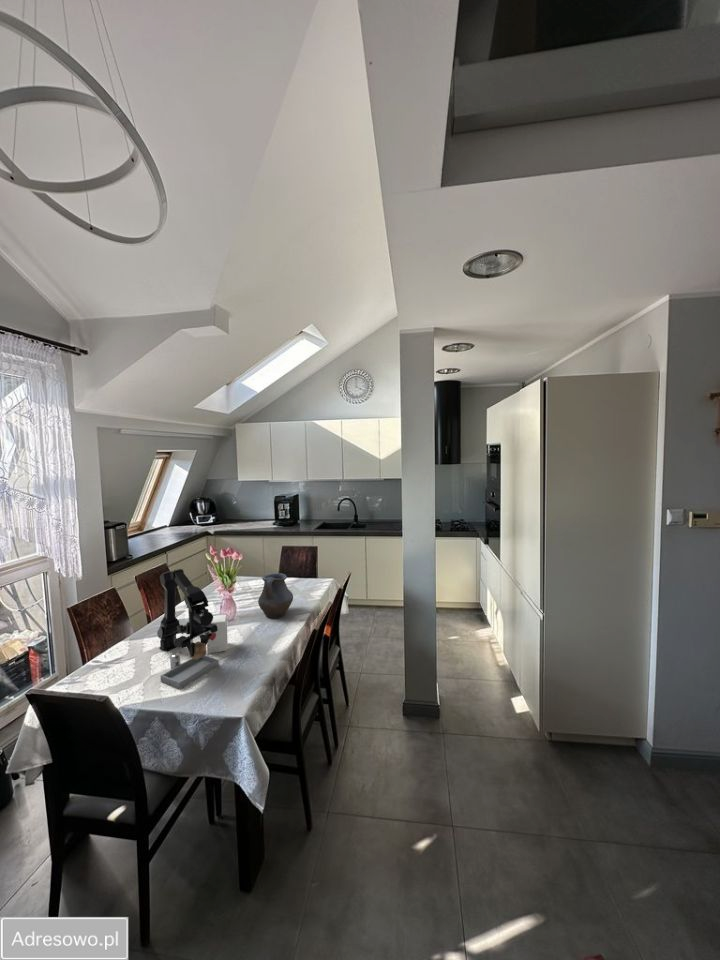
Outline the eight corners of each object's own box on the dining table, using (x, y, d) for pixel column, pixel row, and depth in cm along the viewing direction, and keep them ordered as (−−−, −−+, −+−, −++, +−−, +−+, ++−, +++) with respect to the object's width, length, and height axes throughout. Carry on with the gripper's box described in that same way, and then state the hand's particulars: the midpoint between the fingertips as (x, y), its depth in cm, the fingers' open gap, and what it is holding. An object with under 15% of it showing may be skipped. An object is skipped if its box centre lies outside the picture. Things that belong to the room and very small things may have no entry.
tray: (200, 659, 181) (200, 653, 180) (218, 665, 175) (218, 659, 175) (160, 681, 163) (160, 675, 163) (179, 689, 157) (179, 682, 157)
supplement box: (206, 654, 185) (205, 623, 184) (208, 645, 194) (207, 616, 193) (227, 651, 188) (225, 621, 187) (228, 642, 196) (226, 613, 195)
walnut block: (198, 651, 176) (198, 641, 175) (206, 654, 173) (205, 643, 173) (189, 657, 171) (188, 646, 171) (196, 659, 169) (196, 648, 168)
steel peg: (176, 664, 176) (176, 651, 176) (182, 666, 175) (181, 653, 174) (168, 669, 173) (168, 655, 173) (174, 671, 171) (173, 658, 171)
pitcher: (297, 608, 238) (296, 568, 237) (287, 623, 217) (286, 580, 215) (265, 608, 240) (263, 568, 239) (252, 623, 219) (250, 579, 217)
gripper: (201, 608, 183) (202, 640, 184) (164, 624, 167) (166, 659, 168) (217, 612, 178) (219, 645, 179) (182, 629, 161) (183, 665, 162)
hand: (197, 653), depth 172 cm, fingers closed on walnut block, 5 cm apart
